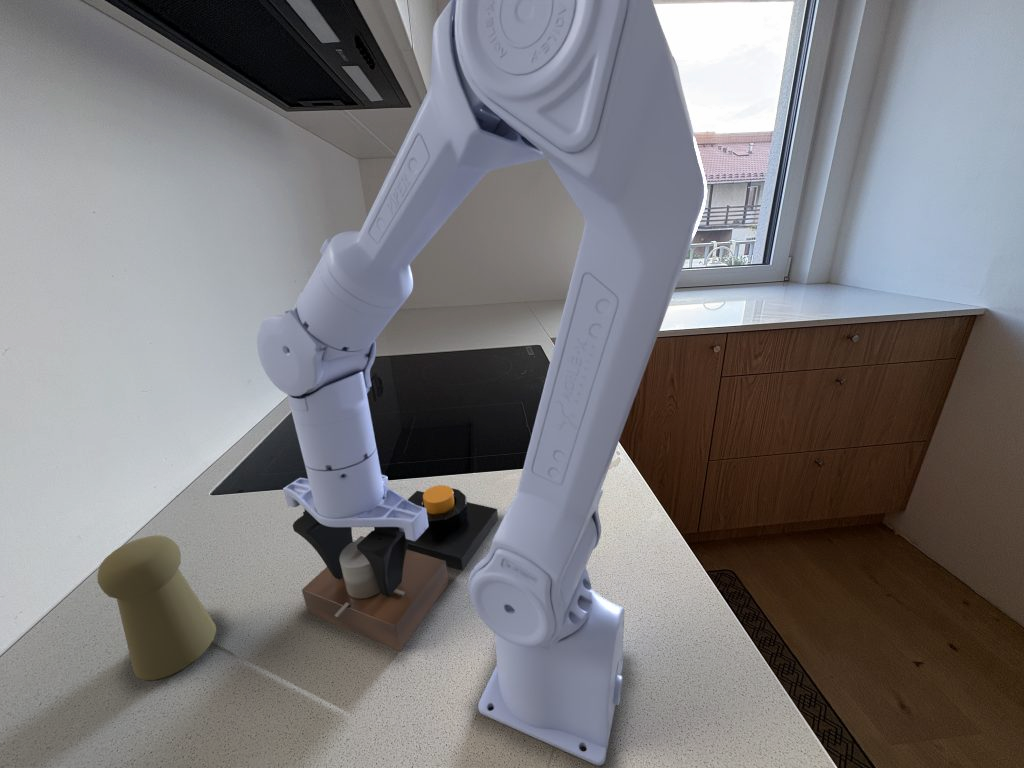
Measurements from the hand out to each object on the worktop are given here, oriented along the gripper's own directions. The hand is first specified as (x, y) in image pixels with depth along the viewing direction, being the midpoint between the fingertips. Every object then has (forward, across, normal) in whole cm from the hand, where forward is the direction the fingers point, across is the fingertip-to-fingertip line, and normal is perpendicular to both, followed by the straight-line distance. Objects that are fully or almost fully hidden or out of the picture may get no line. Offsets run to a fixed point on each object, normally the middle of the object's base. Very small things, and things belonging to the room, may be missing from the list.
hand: (368, 579), depth 40 cm
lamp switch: (+3, 0, -12) cm, 12 cm away
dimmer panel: (+3, 0, -1) cm, 4 cm away
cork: (+3, +14, +10) cm, 18 cm away
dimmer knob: (0, 0, 0) cm, 0 cm away
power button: (0, 0, -13) cm, 13 cm away
